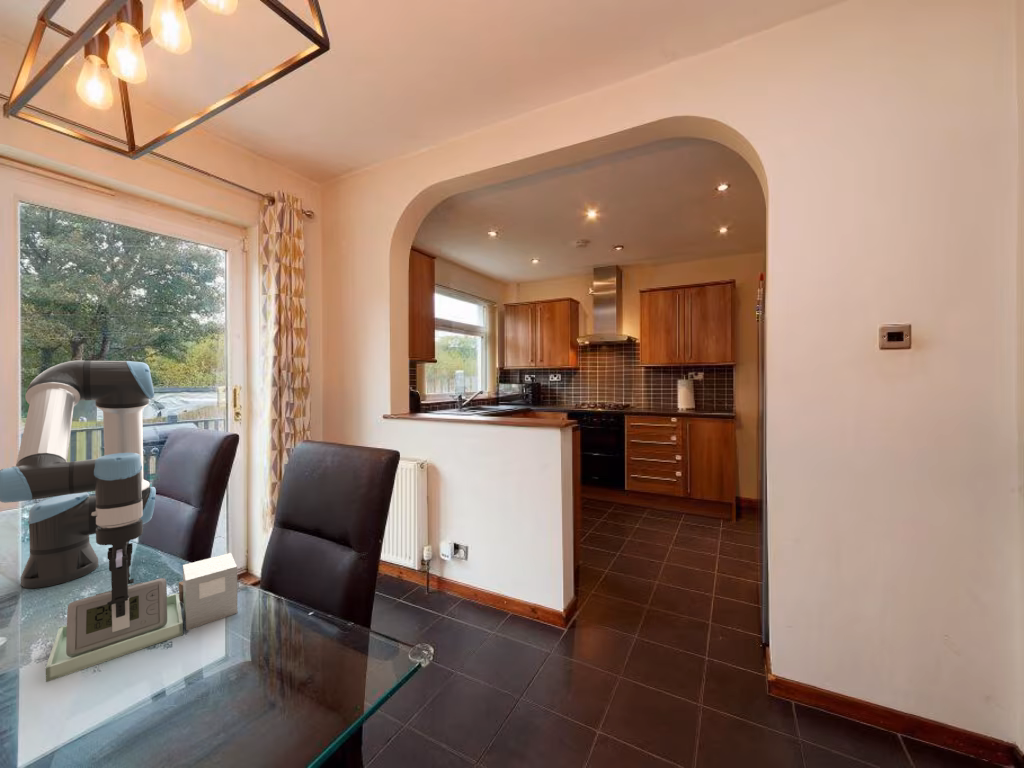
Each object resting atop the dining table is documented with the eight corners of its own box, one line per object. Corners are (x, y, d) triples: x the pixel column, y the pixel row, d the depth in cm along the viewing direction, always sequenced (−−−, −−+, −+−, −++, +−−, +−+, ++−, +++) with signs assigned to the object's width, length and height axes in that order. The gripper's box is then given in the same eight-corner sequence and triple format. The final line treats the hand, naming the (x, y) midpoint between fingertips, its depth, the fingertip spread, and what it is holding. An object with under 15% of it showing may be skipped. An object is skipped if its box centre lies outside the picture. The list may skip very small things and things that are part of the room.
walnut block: (179, 601, 104) (178, 582, 104) (201, 592, 108) (201, 574, 108) (186, 607, 101) (186, 588, 101) (209, 597, 105) (209, 579, 105)
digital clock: (60, 662, 81) (59, 612, 80) (78, 637, 88) (77, 591, 88) (163, 635, 89) (162, 590, 89) (172, 614, 97) (171, 572, 97)
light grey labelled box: (183, 610, 99) (182, 564, 99) (231, 595, 106) (230, 552, 106) (186, 630, 92) (185, 581, 91) (237, 613, 99) (237, 566, 98)
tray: (59, 639, 88) (59, 627, 88) (178, 603, 103) (178, 592, 102) (45, 682, 76) (45, 668, 76) (182, 634, 90) (182, 622, 90)
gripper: (99, 514, 93) (101, 609, 94) (91, 540, 79) (93, 651, 80) (142, 507, 98) (144, 597, 99) (142, 530, 84) (144, 634, 85)
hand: (121, 621), depth 89 cm, fingers closed on digital clock, 6 cm apart
